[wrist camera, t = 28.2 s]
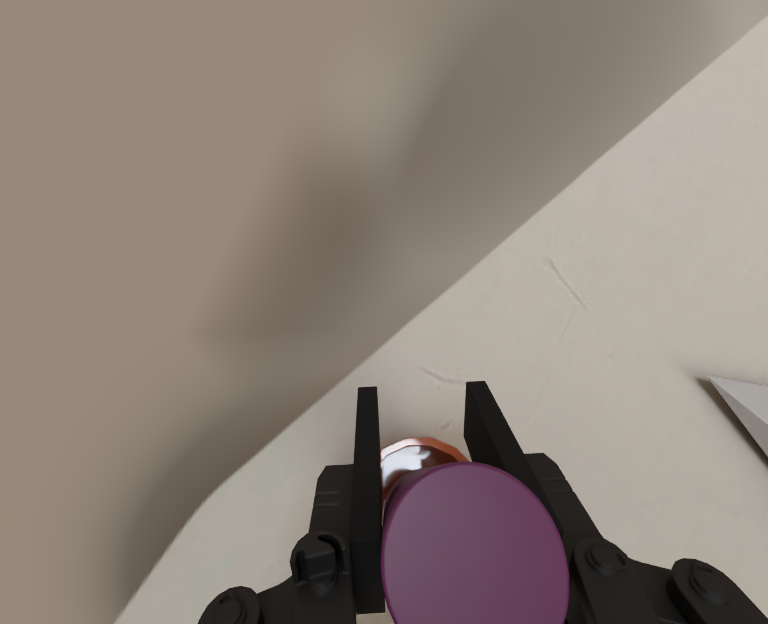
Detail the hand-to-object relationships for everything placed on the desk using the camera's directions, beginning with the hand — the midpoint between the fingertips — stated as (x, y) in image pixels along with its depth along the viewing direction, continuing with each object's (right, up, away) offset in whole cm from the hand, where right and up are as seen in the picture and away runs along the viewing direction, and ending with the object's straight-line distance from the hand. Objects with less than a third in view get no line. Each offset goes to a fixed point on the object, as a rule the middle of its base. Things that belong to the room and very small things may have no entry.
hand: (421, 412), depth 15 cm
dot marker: (0, -5, +1) cm, 5 cm away
